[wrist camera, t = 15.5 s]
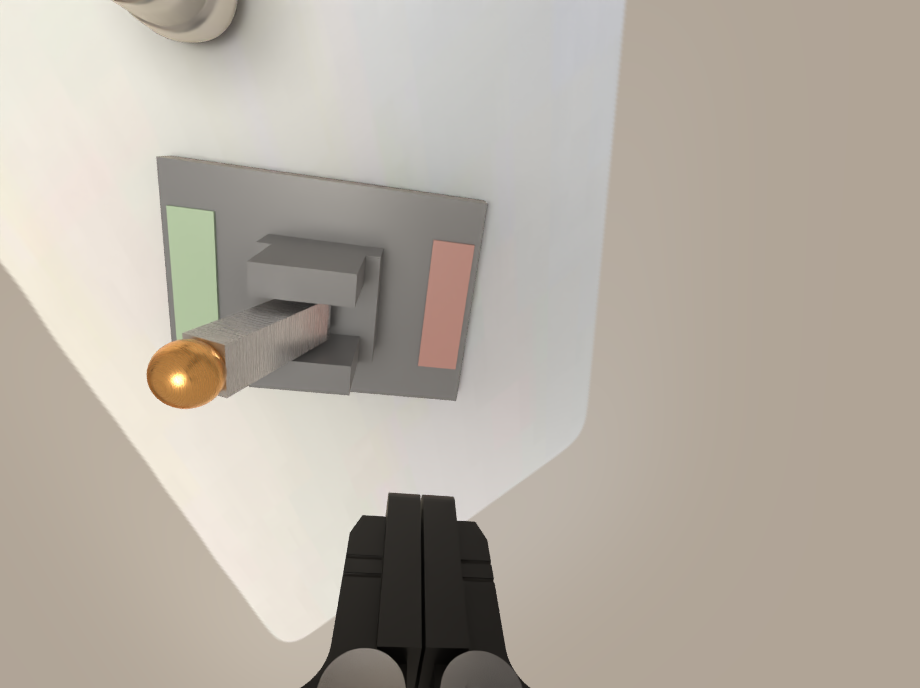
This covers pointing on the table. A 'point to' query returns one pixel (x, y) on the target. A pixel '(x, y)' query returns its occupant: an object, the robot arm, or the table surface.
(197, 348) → the lever
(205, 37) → the plastic bottle
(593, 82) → the table surface
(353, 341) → the switch box
